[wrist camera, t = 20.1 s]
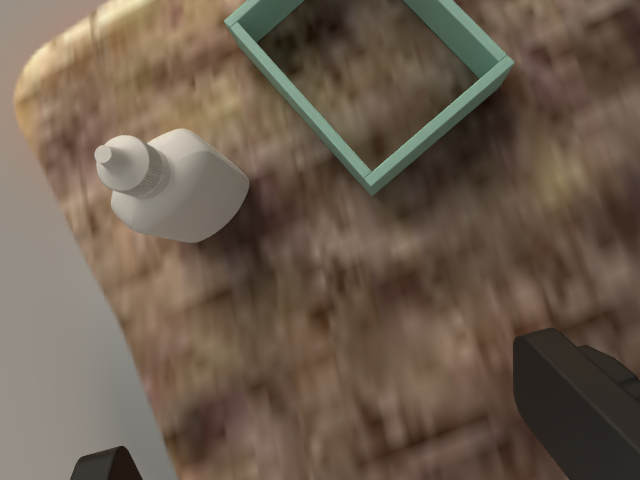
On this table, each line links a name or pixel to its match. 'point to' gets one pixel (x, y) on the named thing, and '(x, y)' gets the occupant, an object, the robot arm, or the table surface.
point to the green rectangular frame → (486, 63)
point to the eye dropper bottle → (171, 185)
